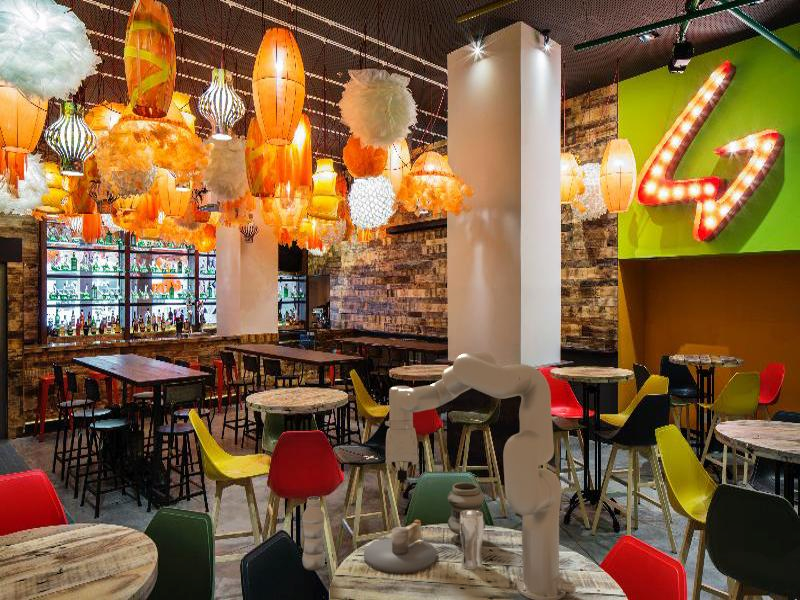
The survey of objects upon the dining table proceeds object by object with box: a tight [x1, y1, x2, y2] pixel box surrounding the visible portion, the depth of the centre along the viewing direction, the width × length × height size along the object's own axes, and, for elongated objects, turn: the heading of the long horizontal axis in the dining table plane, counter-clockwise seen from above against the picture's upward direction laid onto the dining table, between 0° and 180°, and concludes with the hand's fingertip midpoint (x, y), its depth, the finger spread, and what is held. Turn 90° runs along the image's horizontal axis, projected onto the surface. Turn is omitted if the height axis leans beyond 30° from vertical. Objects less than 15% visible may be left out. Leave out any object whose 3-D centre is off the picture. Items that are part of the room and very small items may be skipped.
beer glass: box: [460, 510, 485, 571], centre depth 164 cm, size 7×7×15 cm
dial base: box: [363, 537, 438, 574], centre depth 170 cm, size 22×22×2 cm
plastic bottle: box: [301, 496, 326, 571], centre depth 163 cm, size 6×7×20 cm
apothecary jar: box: [447, 481, 486, 548], centre depth 182 cm, size 12×12×18 cm
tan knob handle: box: [391, 519, 422, 554], centre depth 174 cm, size 12×5×6 cm, turn 144°
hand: (402, 482), depth 181 cm, fingers closed
